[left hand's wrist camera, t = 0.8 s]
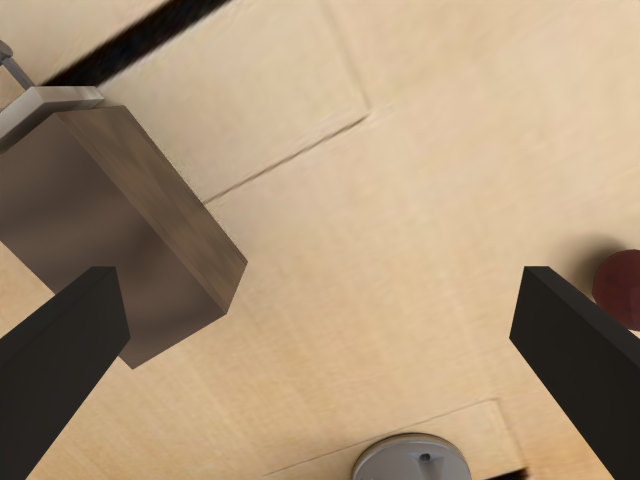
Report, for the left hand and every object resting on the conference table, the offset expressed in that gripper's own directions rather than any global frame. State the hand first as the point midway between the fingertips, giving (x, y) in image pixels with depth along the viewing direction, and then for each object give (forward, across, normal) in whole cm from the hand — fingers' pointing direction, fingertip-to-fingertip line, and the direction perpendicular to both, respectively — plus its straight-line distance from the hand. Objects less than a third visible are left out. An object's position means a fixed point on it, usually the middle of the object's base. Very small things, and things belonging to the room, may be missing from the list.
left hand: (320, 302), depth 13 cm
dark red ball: (+26, +30, -12) cm, 41 cm away
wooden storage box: (+26, -17, -5) cm, 31 cm away
